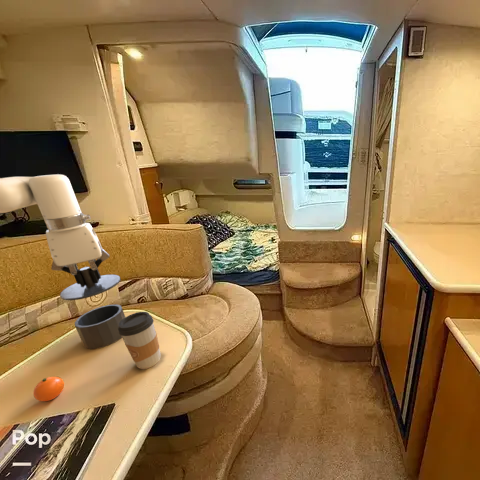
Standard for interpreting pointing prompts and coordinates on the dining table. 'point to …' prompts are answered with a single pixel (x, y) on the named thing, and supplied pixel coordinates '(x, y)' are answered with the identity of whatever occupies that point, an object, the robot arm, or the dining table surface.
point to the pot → (100, 326)
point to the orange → (48, 388)
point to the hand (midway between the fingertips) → (90, 282)
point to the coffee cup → (140, 339)
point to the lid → (89, 286)
